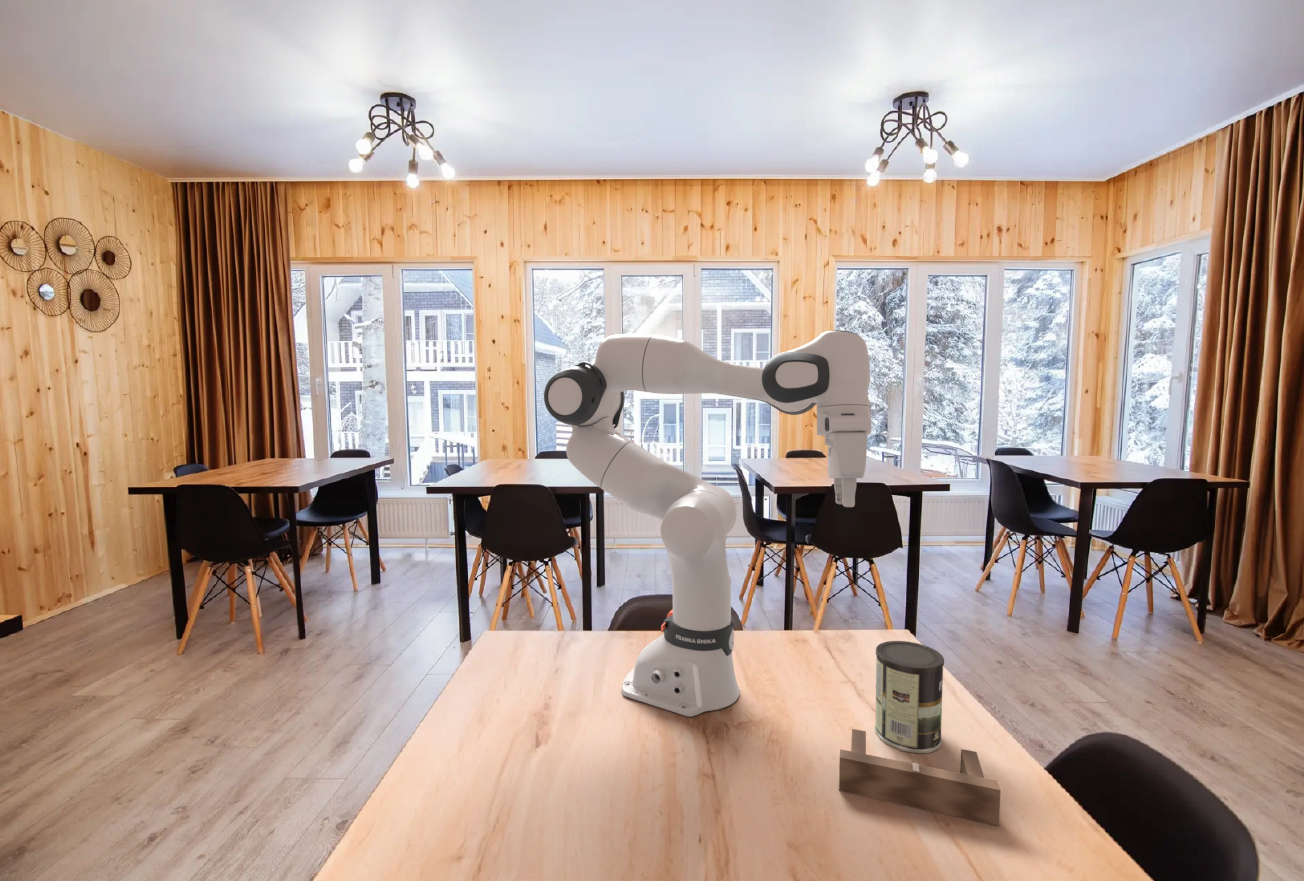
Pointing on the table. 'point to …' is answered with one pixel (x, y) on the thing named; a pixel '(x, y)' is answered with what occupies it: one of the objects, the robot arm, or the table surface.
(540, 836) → the table surface
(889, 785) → the walnut rail
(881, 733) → the coffee can
